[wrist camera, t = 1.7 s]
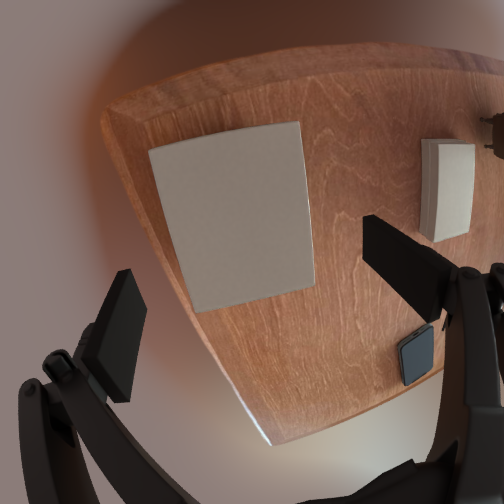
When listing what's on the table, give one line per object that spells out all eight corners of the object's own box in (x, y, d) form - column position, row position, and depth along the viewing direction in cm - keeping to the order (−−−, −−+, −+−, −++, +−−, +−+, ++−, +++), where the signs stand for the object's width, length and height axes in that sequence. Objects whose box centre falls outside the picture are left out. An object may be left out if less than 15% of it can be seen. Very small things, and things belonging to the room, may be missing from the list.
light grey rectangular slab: (151, 148, 18) (147, 150, 16) (292, 120, 18) (299, 120, 17) (195, 303, 24) (195, 313, 22) (309, 276, 24) (315, 285, 23)
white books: (420, 138, 26) (437, 142, 24) (458, 138, 27) (475, 142, 24) (418, 233, 32) (432, 243, 29) (454, 224, 32) (468, 232, 30)
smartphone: (434, 324, 39) (434, 368, 45) (429, 318, 41) (429, 363, 47) (399, 348, 40) (404, 388, 46) (394, 342, 41) (400, 383, 47)
